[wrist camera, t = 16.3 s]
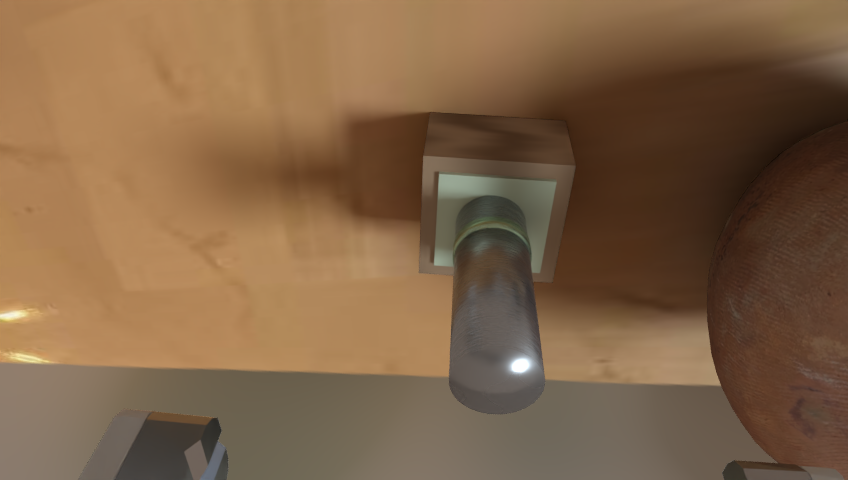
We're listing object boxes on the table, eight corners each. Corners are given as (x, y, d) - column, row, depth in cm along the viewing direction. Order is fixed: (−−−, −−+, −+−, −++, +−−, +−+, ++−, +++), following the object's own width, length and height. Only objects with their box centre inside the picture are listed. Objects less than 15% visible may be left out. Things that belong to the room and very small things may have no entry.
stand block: (425, 222, 48) (418, 275, 43) (430, 112, 43) (422, 158, 38) (545, 231, 48) (552, 285, 43) (565, 120, 42) (576, 168, 37)
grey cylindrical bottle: (453, 253, 42) (445, 412, 31) (454, 192, 39) (447, 344, 28) (524, 256, 41) (541, 417, 31) (531, 195, 39) (552, 349, 28)
